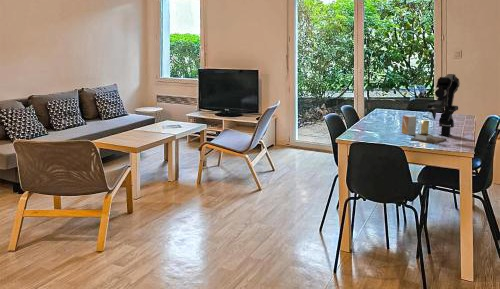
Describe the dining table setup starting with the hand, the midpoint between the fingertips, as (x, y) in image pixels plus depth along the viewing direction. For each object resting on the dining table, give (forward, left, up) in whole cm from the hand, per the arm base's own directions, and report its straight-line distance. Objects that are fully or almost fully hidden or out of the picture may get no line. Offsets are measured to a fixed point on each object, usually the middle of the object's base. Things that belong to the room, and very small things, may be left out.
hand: (441, 120), depth 298 cm
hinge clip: (+11, -5, -12) cm, 17 cm away
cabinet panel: (+7, -4, -13) cm, 15 cm away
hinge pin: (+11, -5, -12) cm, 17 cm away
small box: (-2, -25, -13) cm, 28 cm away
